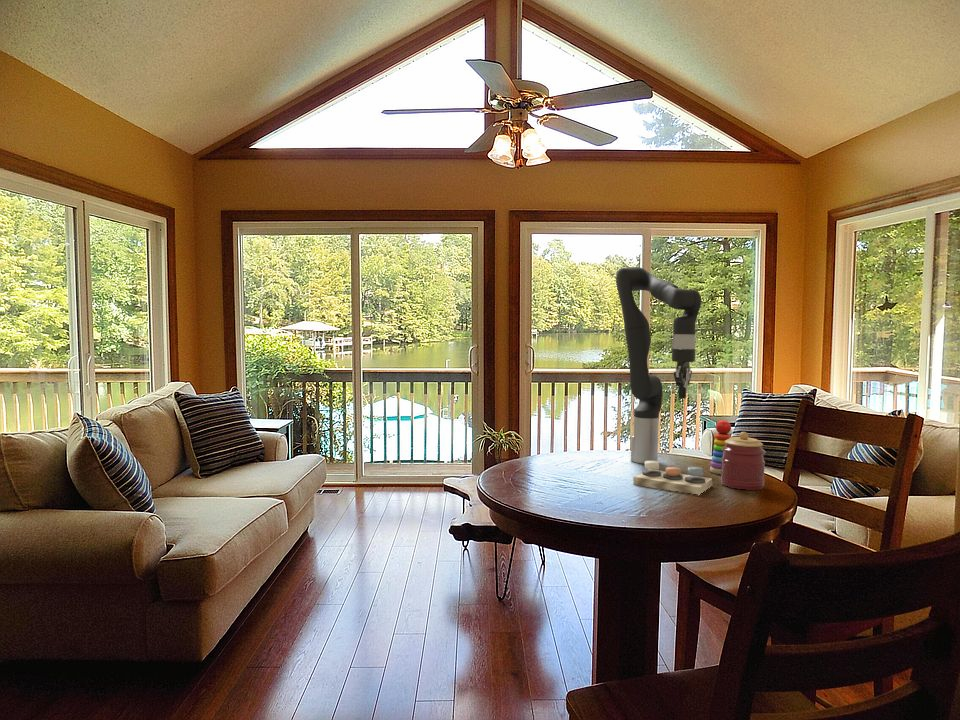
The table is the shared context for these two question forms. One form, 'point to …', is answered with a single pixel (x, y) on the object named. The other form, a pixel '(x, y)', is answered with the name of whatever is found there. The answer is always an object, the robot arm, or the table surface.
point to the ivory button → (652, 465)
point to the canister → (743, 463)
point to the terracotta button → (673, 471)
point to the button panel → (672, 482)
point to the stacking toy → (719, 445)
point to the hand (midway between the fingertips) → (682, 398)
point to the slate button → (695, 471)
